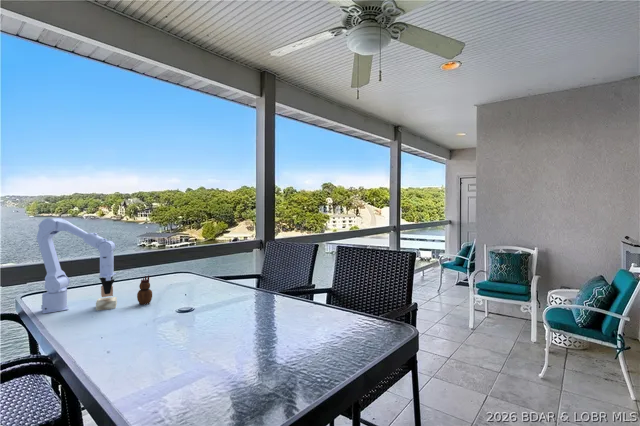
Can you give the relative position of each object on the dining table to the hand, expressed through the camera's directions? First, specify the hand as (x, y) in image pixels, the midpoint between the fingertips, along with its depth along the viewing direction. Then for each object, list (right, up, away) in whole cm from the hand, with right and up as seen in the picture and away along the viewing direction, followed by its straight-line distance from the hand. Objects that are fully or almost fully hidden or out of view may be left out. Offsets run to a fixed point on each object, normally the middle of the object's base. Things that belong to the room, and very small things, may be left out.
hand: (106, 292), depth 161 cm
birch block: (0, -8, 0) cm, 8 cm away
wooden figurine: (+15, -8, +6) cm, 18 cm away
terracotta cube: (0, -2, 0) cm, 2 cm away
